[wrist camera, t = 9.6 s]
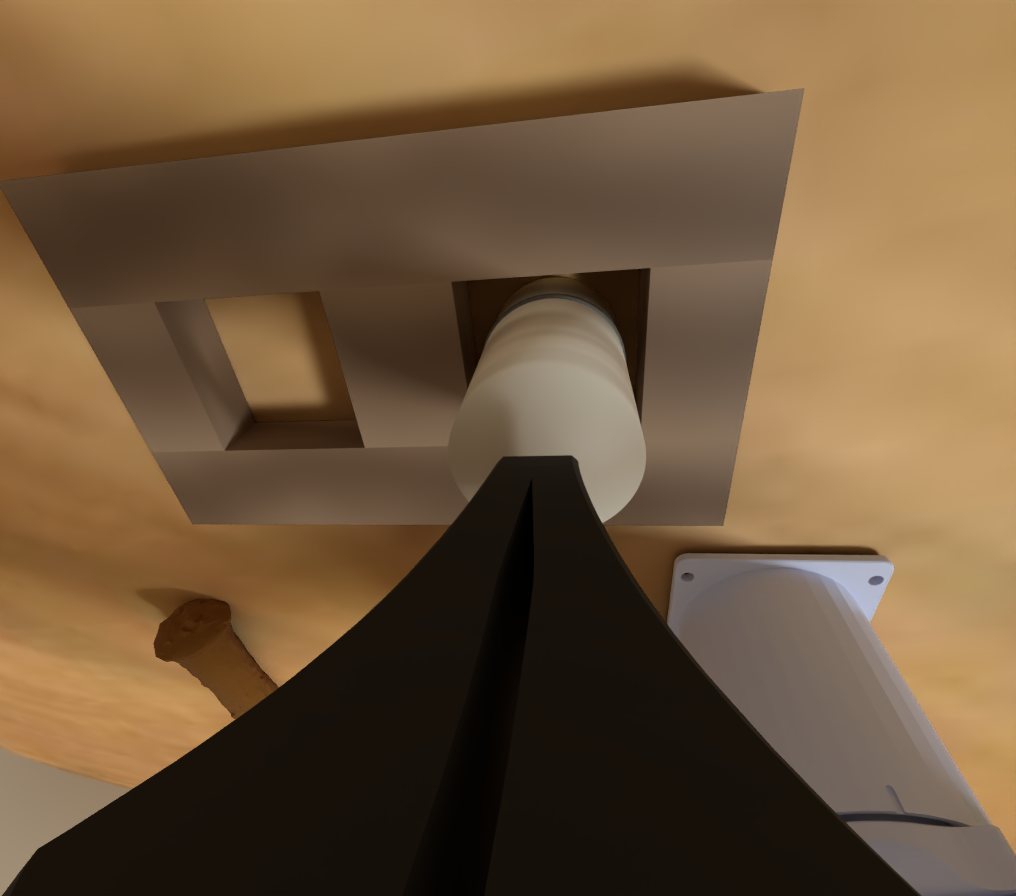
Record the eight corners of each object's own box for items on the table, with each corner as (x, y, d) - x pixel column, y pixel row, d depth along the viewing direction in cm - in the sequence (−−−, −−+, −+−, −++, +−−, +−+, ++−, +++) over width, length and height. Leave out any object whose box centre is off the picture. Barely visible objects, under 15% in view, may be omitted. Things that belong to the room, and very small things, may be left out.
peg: (619, 394, 17) (645, 536, 11) (500, 400, 17) (463, 538, 11) (619, 268, 14) (653, 361, 9) (483, 282, 15) (427, 375, 9)
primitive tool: (356, 772, 35) (336, 831, 32) (287, 769, 36) (262, 825, 33) (239, 588, 25) (195, 648, 22) (148, 590, 26) (95, 648, 23)
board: (709, 489, 18) (723, 525, 17) (222, 493, 21) (192, 524, 19) (771, 94, 12) (804, 88, 10) (62, 176, 15) (-4, 181, 13)
